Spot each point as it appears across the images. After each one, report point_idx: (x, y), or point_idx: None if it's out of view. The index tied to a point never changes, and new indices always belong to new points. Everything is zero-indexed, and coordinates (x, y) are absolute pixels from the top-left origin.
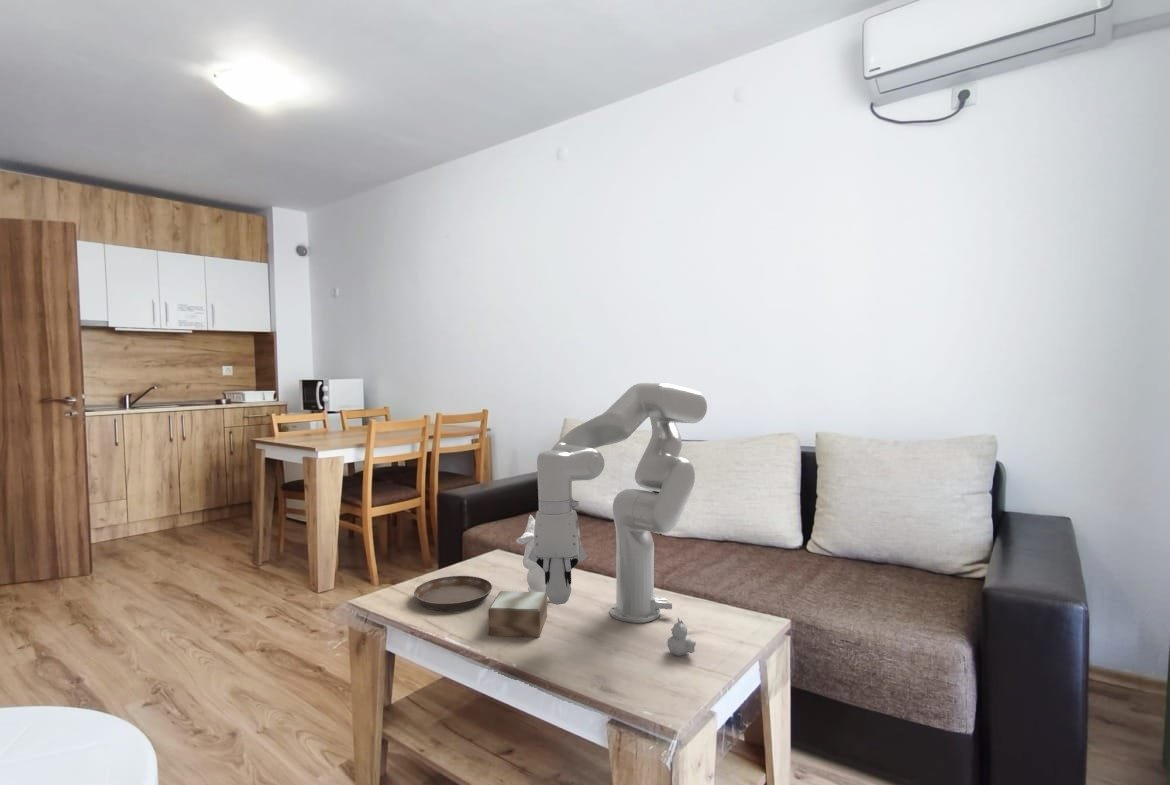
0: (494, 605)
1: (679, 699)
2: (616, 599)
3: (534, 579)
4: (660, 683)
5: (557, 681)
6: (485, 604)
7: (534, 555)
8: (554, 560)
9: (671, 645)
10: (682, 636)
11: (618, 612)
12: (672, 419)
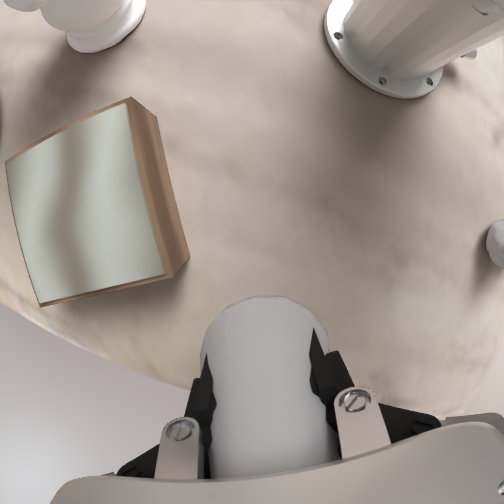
0: (38, 284)
1: (473, 375)
2: (359, 29)
3: (66, 23)
4: (461, 351)
5: None
6: (5, 124)
7: None
8: None
9: (498, 264)
10: None
11: (362, 60)
12: None
